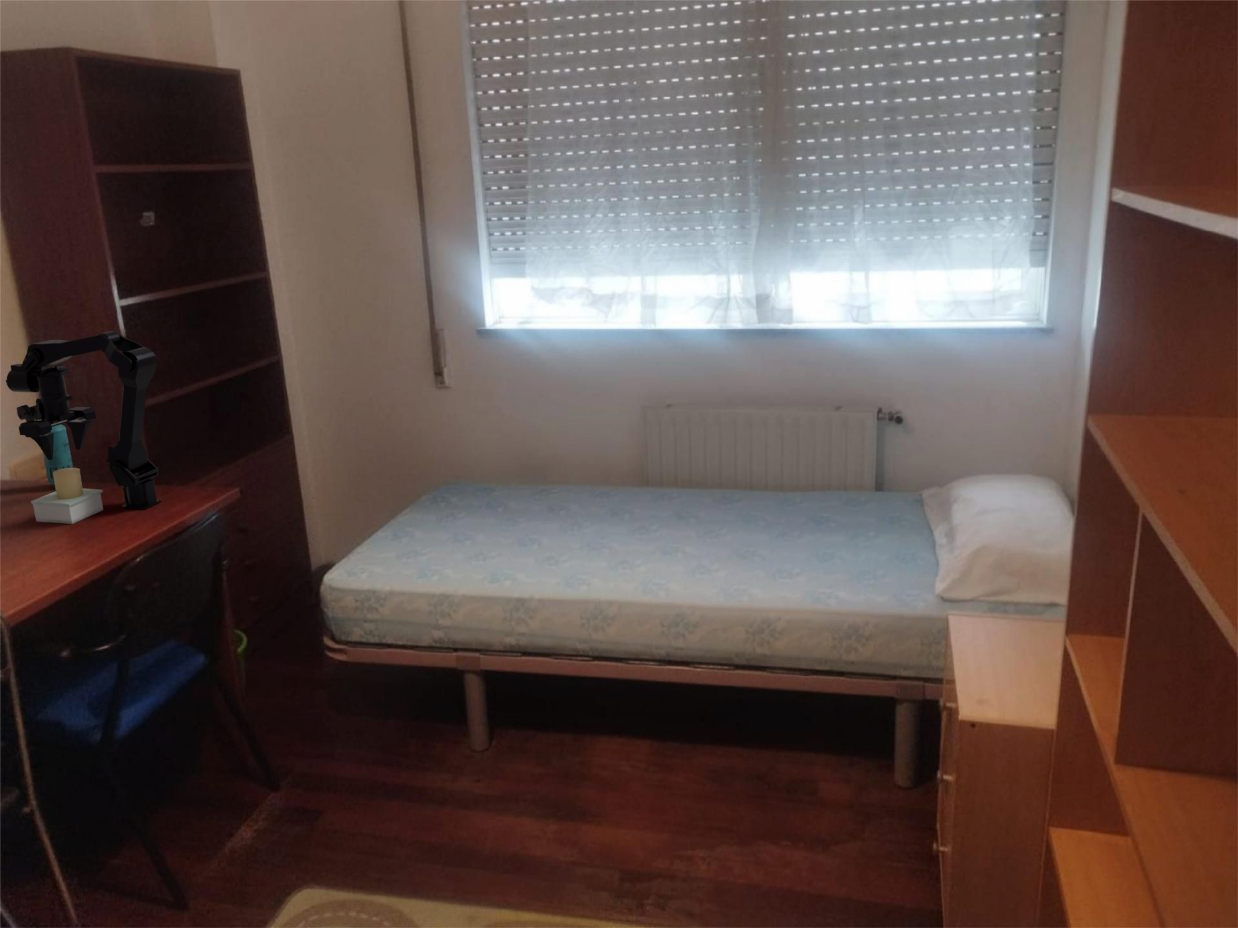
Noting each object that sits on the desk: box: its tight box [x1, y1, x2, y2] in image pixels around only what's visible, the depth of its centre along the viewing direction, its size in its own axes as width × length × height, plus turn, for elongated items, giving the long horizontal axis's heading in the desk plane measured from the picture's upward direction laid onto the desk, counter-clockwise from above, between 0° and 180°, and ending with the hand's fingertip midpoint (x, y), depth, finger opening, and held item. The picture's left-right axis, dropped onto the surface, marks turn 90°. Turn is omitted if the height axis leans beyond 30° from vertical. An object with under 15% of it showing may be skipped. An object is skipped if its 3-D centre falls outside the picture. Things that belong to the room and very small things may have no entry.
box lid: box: [30, 487, 104, 506], centre depth 229 cm, size 10×11×1 cm
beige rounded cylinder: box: [53, 467, 83, 499], centre depth 227 cm, size 6×6×6 cm
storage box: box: [32, 493, 104, 525], centre depth 229 cm, size 10×10×4 cm
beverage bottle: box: [42, 419, 75, 485], centre depth 250 cm, size 6×7×20 cm
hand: (64, 454), depth 238 cm, fingers open, 9 cm apart
